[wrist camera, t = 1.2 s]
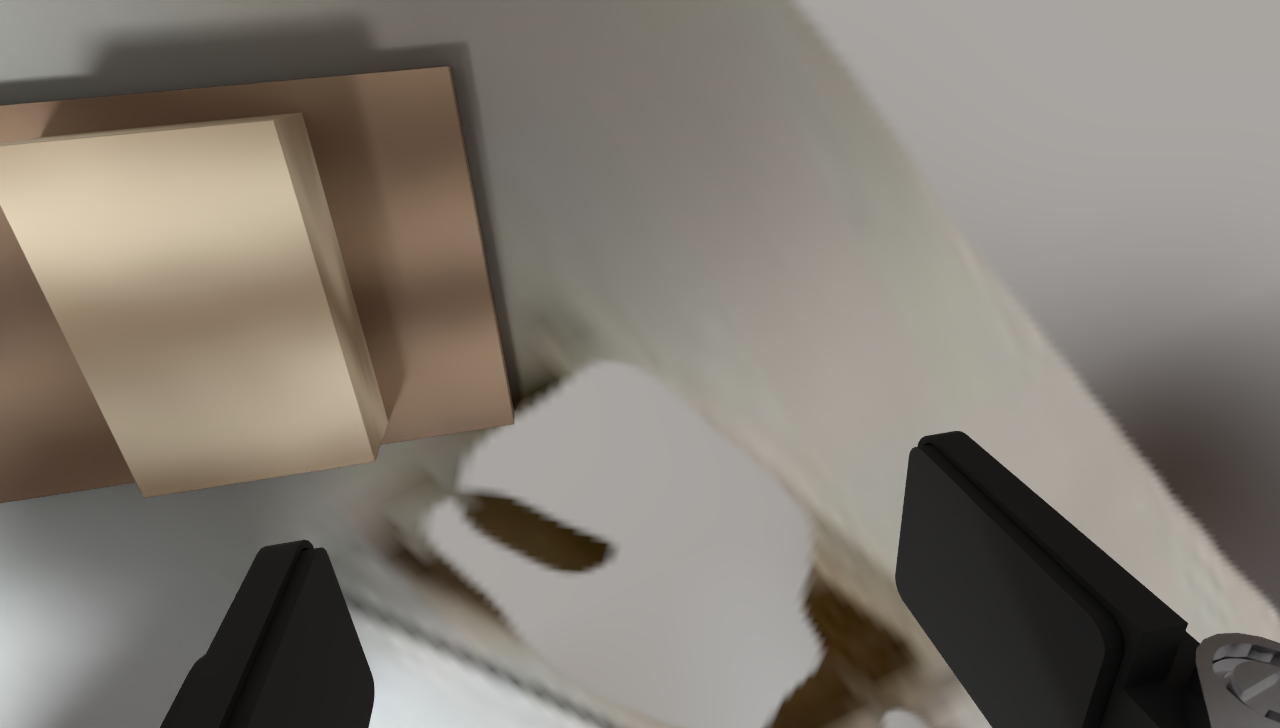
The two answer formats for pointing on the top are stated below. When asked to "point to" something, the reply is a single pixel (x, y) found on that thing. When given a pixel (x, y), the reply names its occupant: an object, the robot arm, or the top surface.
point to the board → (369, 243)
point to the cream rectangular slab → (200, 296)
